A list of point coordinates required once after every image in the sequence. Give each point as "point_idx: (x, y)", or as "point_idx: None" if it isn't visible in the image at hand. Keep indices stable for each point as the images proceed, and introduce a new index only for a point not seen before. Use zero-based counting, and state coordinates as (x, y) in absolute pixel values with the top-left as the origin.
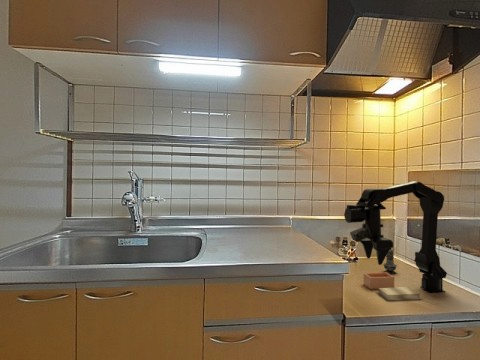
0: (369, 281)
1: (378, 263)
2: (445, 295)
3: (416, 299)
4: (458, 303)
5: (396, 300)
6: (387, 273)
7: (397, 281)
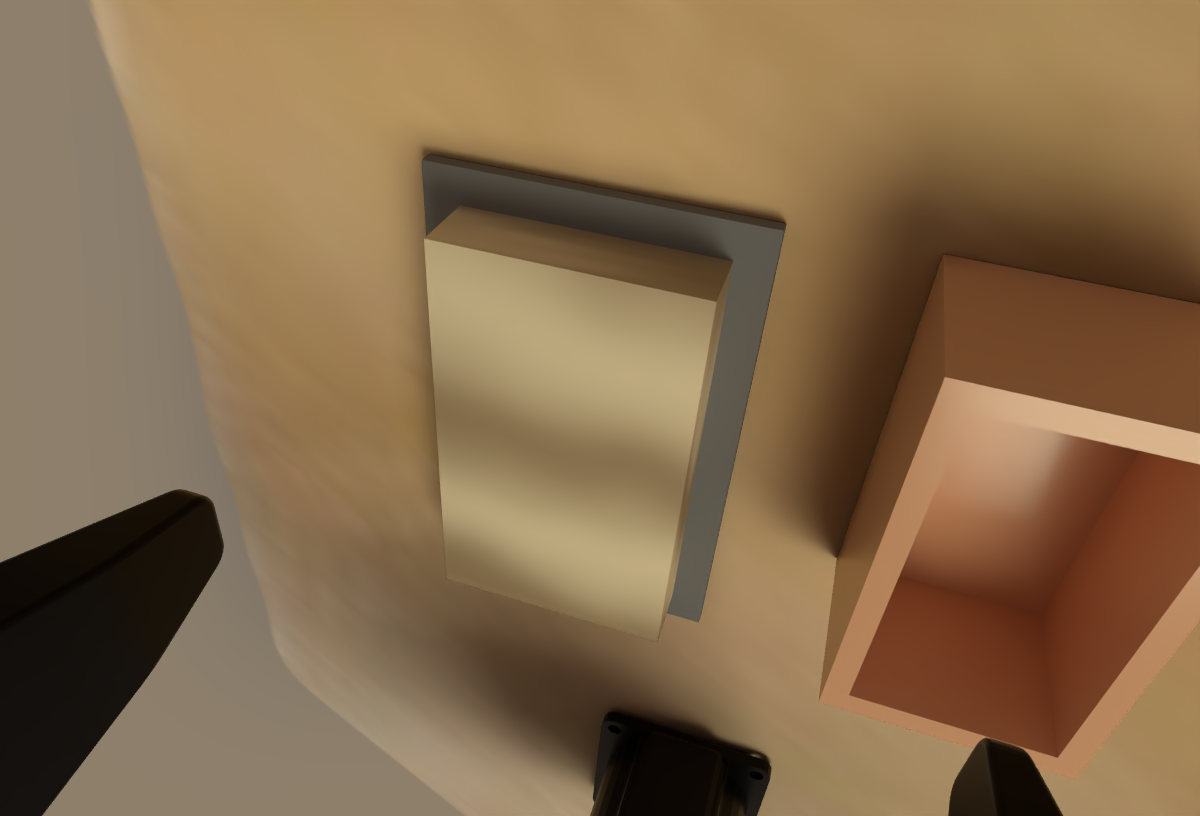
0: (987, 338)
1: (159, 506)
2: (554, 752)
3: None
4: (393, 689)
5: None
6: None
7: None
